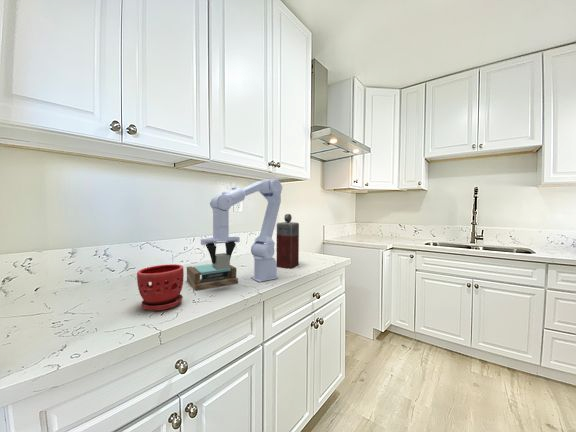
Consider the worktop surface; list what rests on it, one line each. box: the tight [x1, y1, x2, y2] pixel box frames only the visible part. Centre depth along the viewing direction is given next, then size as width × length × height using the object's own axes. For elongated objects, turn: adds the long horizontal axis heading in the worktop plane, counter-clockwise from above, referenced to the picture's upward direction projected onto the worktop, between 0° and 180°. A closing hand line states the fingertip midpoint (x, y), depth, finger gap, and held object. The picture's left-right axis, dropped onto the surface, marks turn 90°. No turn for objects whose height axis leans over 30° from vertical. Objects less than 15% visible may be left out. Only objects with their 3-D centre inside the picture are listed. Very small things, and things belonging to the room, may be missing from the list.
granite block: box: [211, 252, 231, 270], centre depth 93 cm, size 5×5×5 cm
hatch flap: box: [192, 263, 230, 281], centre depth 103 cm, size 12×12×3 cm
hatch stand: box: [186, 264, 239, 291], centre depth 103 cm, size 17×15×6 cm
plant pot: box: [136, 263, 185, 311], centre depth 78 cm, size 13×13×12 cm
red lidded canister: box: [275, 213, 300, 270], centre depth 132 cm, size 9×11×28 cm
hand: (220, 262), depth 94 cm, fingers closed on granite block, 5 cm apart
